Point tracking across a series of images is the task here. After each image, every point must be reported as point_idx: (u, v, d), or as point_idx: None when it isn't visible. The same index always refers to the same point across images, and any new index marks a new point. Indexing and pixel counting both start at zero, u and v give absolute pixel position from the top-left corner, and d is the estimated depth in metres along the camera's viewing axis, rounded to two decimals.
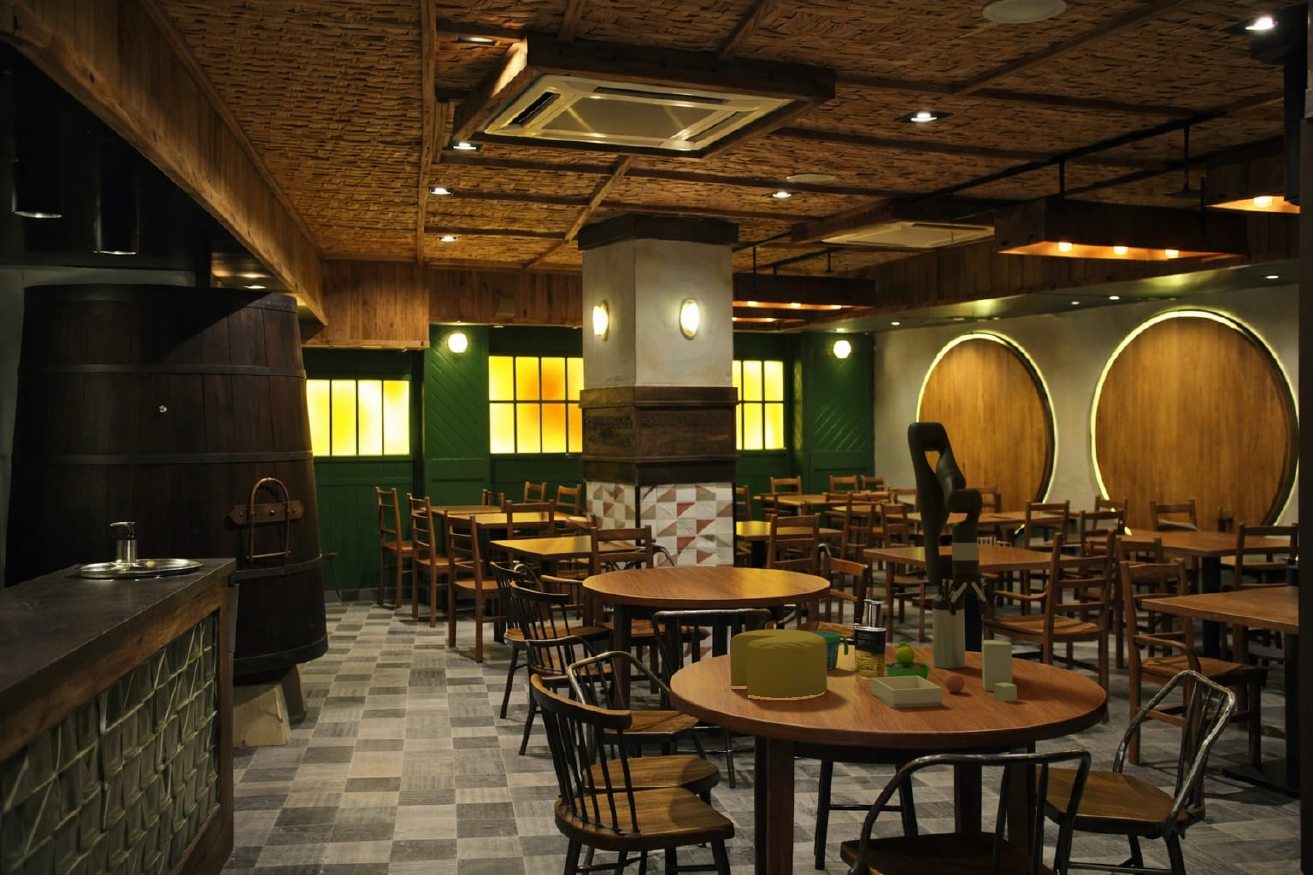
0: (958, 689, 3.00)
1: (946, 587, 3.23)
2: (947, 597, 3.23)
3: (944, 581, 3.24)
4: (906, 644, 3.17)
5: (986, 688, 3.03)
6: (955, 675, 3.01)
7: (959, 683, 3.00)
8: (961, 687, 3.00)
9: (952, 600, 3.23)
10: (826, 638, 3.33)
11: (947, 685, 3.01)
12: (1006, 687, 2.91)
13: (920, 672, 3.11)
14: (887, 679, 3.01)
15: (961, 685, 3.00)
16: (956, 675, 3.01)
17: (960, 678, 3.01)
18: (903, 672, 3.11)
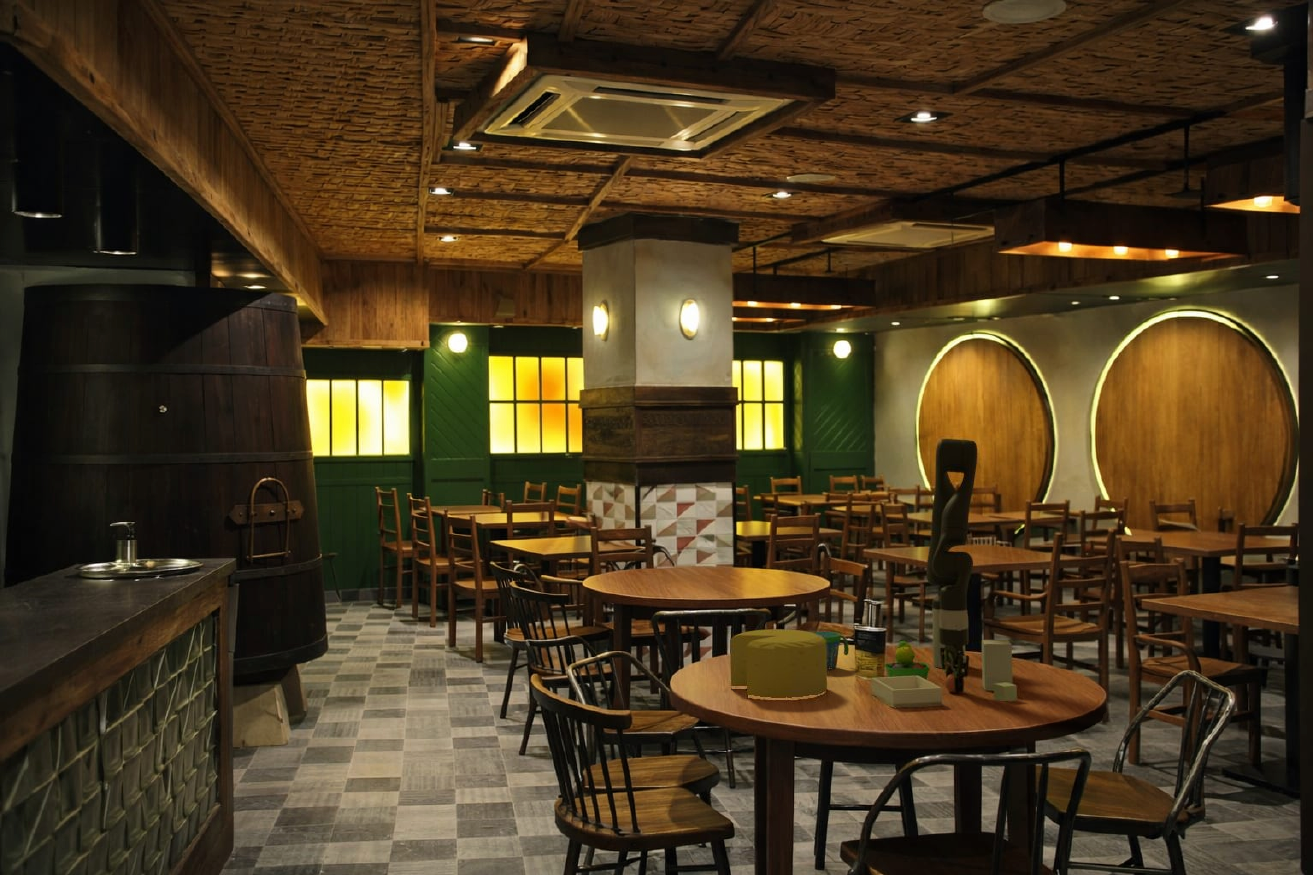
0: None
1: None
2: None
3: (966, 658, 2.96)
4: (906, 644, 3.17)
5: (986, 688, 3.03)
6: None
7: None
8: None
9: None
10: (826, 638, 3.33)
11: (947, 685, 3.01)
12: (1006, 687, 2.91)
13: (920, 672, 3.11)
14: (887, 679, 3.01)
15: None
16: None
17: None
18: (903, 672, 3.11)
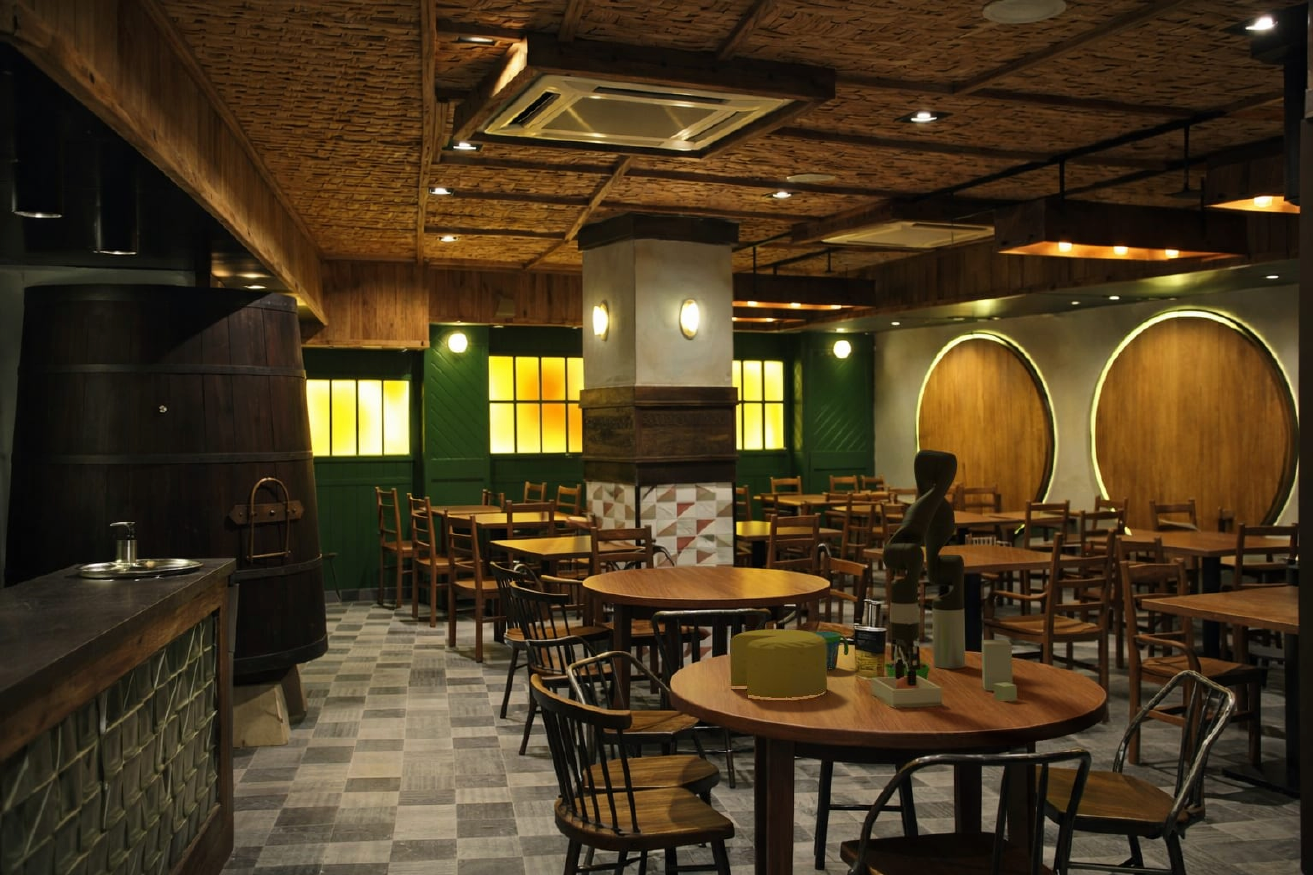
0: None
1: None
2: None
3: (916, 648, 2.88)
4: None
5: (986, 688, 3.03)
6: (906, 678, 2.93)
7: (910, 686, 2.92)
8: None
9: None
10: (826, 638, 3.33)
11: None
12: (1006, 687, 2.91)
13: (920, 672, 3.11)
14: (887, 679, 3.01)
15: None
16: None
17: None
18: None
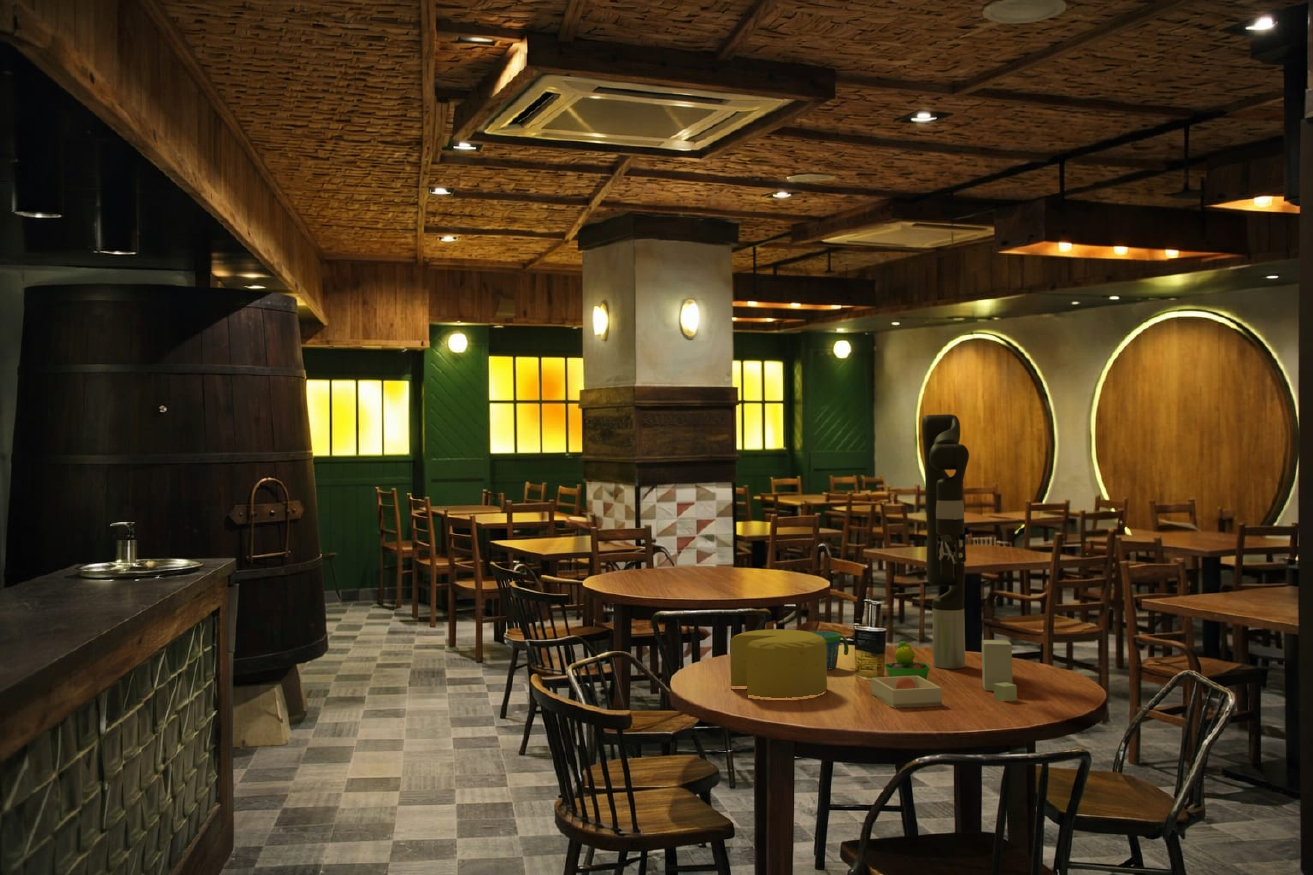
0: None
1: None
2: None
3: (962, 541, 3.04)
4: (906, 644, 3.17)
5: (986, 688, 3.03)
6: (906, 679, 2.93)
7: (910, 687, 2.92)
8: None
9: None
10: (826, 638, 3.33)
11: None
12: (1006, 687, 2.91)
13: (920, 672, 3.11)
14: (887, 679, 3.01)
15: None
16: (907, 679, 2.93)
17: (911, 682, 2.92)
18: (903, 672, 3.11)
